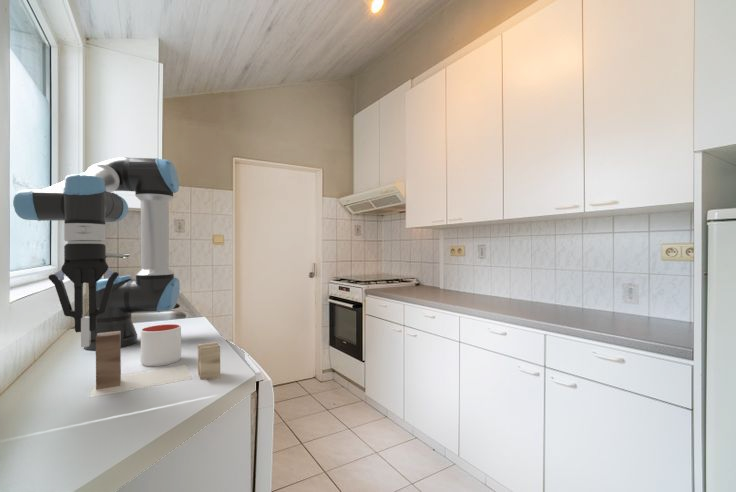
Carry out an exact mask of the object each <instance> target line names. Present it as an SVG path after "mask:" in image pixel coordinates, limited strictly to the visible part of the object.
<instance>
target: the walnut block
mask: <svg viewBox="0 0 736 492" xmlns="http://www.w3.org/2000/svg"><path fill="white" fill-rule="evenodd" d="M121 348H122V347H121V331H114V332H105V333H98V334H97V336H96V350H95V380H96V390H101V389H106V388H112V387H118V386H120V383H121V375H122V372H121V371H122V370H121V368H122V358H121V356H122V355H121V354H122V351H121V350H122V349H121Z"/></svg>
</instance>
